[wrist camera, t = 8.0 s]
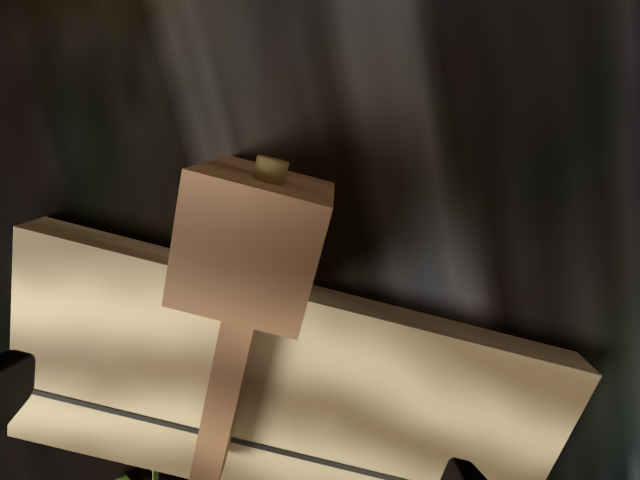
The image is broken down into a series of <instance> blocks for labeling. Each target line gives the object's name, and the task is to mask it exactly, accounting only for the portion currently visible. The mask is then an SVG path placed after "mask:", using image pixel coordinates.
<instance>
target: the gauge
mask: <svg viewBox="0 0 640 480" xmlns="http://www.w3.org/2000/svg"><path fill="white" fill-rule="evenodd" d="M288 167H289V162H287V161H284V160H281V159H278V158H274V157H270V156H265V155H257V158H256V162H254V161H250V160H246V159H242V158H238V157H234V156H229V157H225V158H221V159H217V160H213V161H210V162H206V163H202V164H198V165H194V166H191V167H187V168H183V169H182V173H181V180H180V186H179V193H178V199H177V206H176V213H175V219H174V226H173V232H172V239H171V246H170V252H169V259H168V266H167V272H166V279H165V285H164V292H163V299H162V305H161V306H162V307H166V308H170V309H174V310H178V311H182V312H186V313H190V314H194V315H198V316H202V317H206V318H210V319H214V320H218V321H221V324H220V328H219V333H218V338H217V343H216V348H215V353H214V358H213V363H212V368H211V373H210V378H209V383H208V388H207V393H206V398H205V403H204V408H203V412H202V417H201V422H200V427H199V432H198V437H197V442H196V447H195V452H194V457H193V462H192V467H191V472H190V477H189V480H220V478H221V475H222V472H223V469H224V466H225V463H226V458H227V454H228V450H229V446H230V441H231V437H232V433H233V428H234V424H235V420H236V416H237V411H238V407H239V403H240V398H241V394H242V390H243V386H244V381H245V377H246V373H247V368H248V364H249V360H250V356H251V351H252V347H253V343H254V339H255V334H256V330H258V331H262V332H266V333H270V334H274V335H278V336H282V337H286V338H290V339H294V340H298V337H299V333H300V329H301V326H302V322H303V318H304V315H305V311H306V307H307V304H308V300H309V296H310V292H311V289H312V285H313V281H314V278H315V274H316V270H317V267H318V263H319V259H320V255H321V252H322V248H323V244H324V241H325V237H326V233H327V229H328V226H329V222H330V218H331V215H332V211H333V204H334V188H335V183H334V182H330V181H326V180H322V179H318V178H314V177H311V176H307V175H303V174H299V173H295V172H292V171H288Z"/></svg>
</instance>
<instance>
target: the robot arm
mask: <svg viewBox="0 0 640 480" xmlns="http://www.w3.org/2000/svg"><path fill="white" fill-rule="evenodd" d="M35 365H36V358H35V356H34V355H33V354H31V353H28V352H24V351H20V350H9V351H5V352H2V353H0V433H1V432H2V431H3V430H4V429H5V427H6V426H7V425H8V424H9V422H10V421H11V420H12V419H13V418H14V416H15V415H16V414H17V413H18V411H19V410H20V409H21V408H22V407H23V405H24V404H25V403H26V402H27V400H28V399H29V398H30V396H31V394H32V392H33V389H34V383H35ZM440 480H488V479H487V478H486V477H485V476H484V475H483V474H482V473H481V472H480V471H479V470H478V468H477V467H476V466H475V465H474V464H473V463H472V462H470V461H468V460H464V459H460V458H456V457H452V458H450V459H449V461H448V462H447V465H446V467H445V469H444V472H443V474H442V476H441V479H440Z"/></svg>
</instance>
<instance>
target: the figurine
mask: <svg viewBox="0 0 640 480" xmlns="http://www.w3.org/2000/svg"><path fill="white" fill-rule="evenodd" d="M152 477H153V480H159V472H157V471H153V470H152ZM115 480H130V479H129V477H127V476H122V477H120V478H118V479H115Z"/></svg>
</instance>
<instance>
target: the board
mask: <svg viewBox="0 0 640 480" xmlns="http://www.w3.org/2000/svg"><path fill="white" fill-rule="evenodd" d="M169 252H170V248H166V247H163V246H159V245H155V244H151V243H147V242H143V241H139V240H135V239H131V238H127V237H123V236H119V235H115V234H112V233H108V232H104V231H100V230H96V229H92V228H88V227H84V226H80V225H76V224H72V223H68V222H64V221H60V220H57V219H53V218H49V217H43V218H39V219H36V220H33V221H30V222H26V223H23V224H20V225H16V226H13V257H12V292H11V328H10V350H20V351H24V352H28V353H31V354H33V355H34V356H35V358H36V365H35V383H34V389H33V392H32V394H31V396H30V398H29V399H28V400H27V402H26V403H25V404H24V405H23V407H22V408H21V409H20V410H19V411H18V413H17V414H16V415H15V416H14V418H13V419H12V420H11V421H10V422H9V424H8V435H7V436H11V437H15V438H19V439H23V440H27V441H32V442H36V443H40V444H44V445H48V446H53V447H57V448H61V449H65V450H69V451H74V452H78V453H82V454H86V455H90V456H94V457H99V458H103V459H107V460H111V461H115V462H120V463H124V464H128V465H132V466H136V467H141V468H145V469H149V470H153V471H157V472H161V473H166V474H170V475H174V476H178V477H182V478H187V479H189V477H190V472H191V467H192V462H193V457H194V452H195V447H196V442H197V437H198V432H199V427H200V422H201V417H202V412H203V408H204V403H205V398H206V393H207V388H208V383H209V378H210V373H211V368H212V363H213V358H214V353H215V348H216V343H217V338H218V333H219V328H220V324H221V321H218V320H214V319H210V318H206V317H202V316H198V315H194V314H190V313H186V312H182V311H178V310H174V309H170V308H166V307H162V306H161V305H162V299H163V292H164V285H165V279H166V272H167V266H168V259H169ZM601 377H602V375H601V374H600V373H599V372H598V371H597V370H596V369H594V368H593V367H592V366H591V365H590V364H589V363H588V362H587V361H586V360H585V359H584V358H583V357H582V356H581V355H580V354H579V353H577V352H575V351H571V350H567V349H563V348H559V347H555V346H551V345H547V344H543V343H539V342H535V341H531V340H528V339H524V338H520V337H516V336H512V335H508V334H504V333H500V332H496V331H492V330H488V329H484V328H480V327H477V326H473V325H469V324H465V323H461V322H457V321H453V320H449V319H445V318H441V317H437V316H433V315H429V314H425V313H422V312H418V311H414V310H410V309H406V308H402V307H398V306H394V305H390V304H386V303H382V302H378V301H374V300H371V299H367V298H363V297H359V296H355V295H351V294H347V293H343V292H339V291H335V290H331V289H327V288H323V287H320V286H316V285H312V289H311V292H310V296H309V300H308V304H307V307H306V311H305V315H304V318H303V322H302V326H301V329H300V333H299V337H298V340H294V339H290V338H286V337H282V336H278V335H274V334H270V333H266V332H262V331H258V330H256V334H255V339H254V343H253V347H252V351H251V356H250V360H249V364H248V368H247V373H246V377H245V381H244V386H243V390H242V394H241V398H240V403H239V407H238V411H237V416H236V420H235V424H234V428H233V433H232V437H231V441H230V446H229V450H228V454H227V458H226V463H225V466H224V469H223V472H222V475H221V478H220V480H440V479H441V476H442V474H443V472H444V469H445V467H446V465H447V462H448V461H449V459H450V458H452V457H456V458H460V459H464V460H468V461H470V462H472V463H473V464H474V465H475V466H476V467H477V468H478V470H479V471H480V472H481V473H482V474H483V475H484V476H485V477H486V478H487V479H488V480H546V478H547V476H548V475H549V473H550V471H551V469H552V467H553V465H554V463H555V462H556V460H557V458H558V456H559V454H560V452H561V451H562V449H563V447H564V445H565V443H566V441H567V440H568V438H569V436H570V434H571V432H572V430H573V428H574V427H575V425H576V423H577V421H578V419H579V417H580V416H581V414H582V412H583V410H584V408H585V406H586V405H587V403H588V401H589V399H590V397H591V395H592V393H593V392H594V390H595V388H596V386H597V384H598V382H599V381H600V379H601Z"/></svg>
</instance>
